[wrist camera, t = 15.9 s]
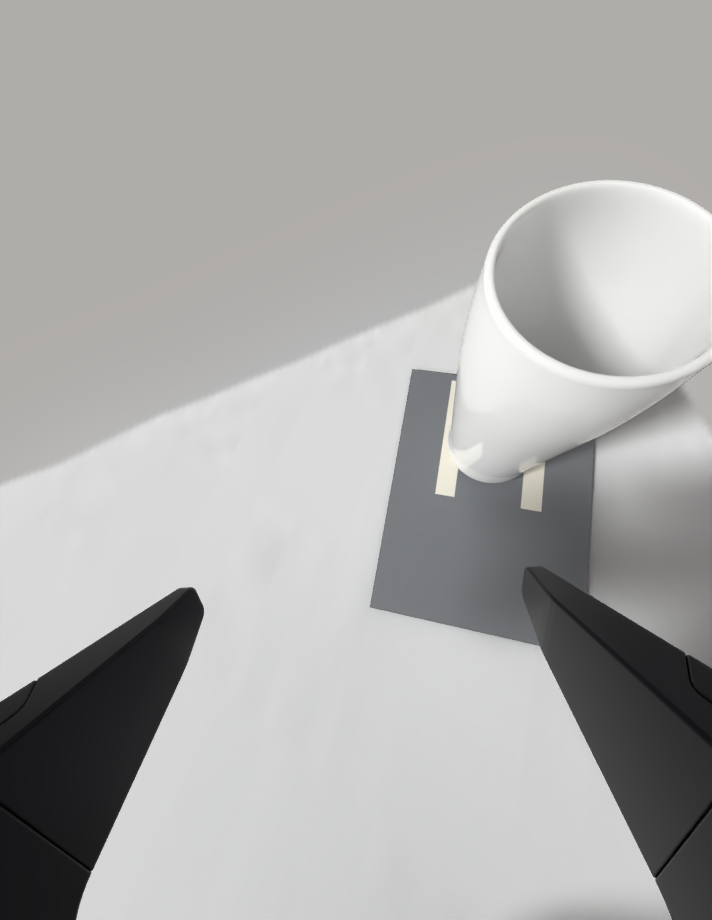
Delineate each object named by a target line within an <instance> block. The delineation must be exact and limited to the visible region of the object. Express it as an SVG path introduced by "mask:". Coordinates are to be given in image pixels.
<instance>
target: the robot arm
mask: <svg viewBox="0 0 712 920" xmlns="http://www.w3.org/2000/svg"><path fill="white" fill-rule="evenodd" d="M522 596H523V600H524V603H525V605H526V608H527V611H528V614H529V617H530V619H531V622H532V625H533V628H534V631H535V633H536V636H537V639H538V642H539V644H540V647H541V650H542V652H543V654H544V656H545V658H546V660H547V662H548V664H549V667H550V669H551V671H552V673H553V675H554V677H555V679H556V681H557V683H558V685H559V687H560V689H561V691H562V693H563V695H564V697H565V699H566V701H567V703H568V705H569V707H570V709H571V711H572V713H573V715H574V717H575V719H576V721H577V723H578V725H579V727H580V729H581V731H582V733H583V735H584V737H585V739H586V741H587V743H588V745H589V747H590V749H591V752H592V754H593V756H594V758H595V760H596V762H597V764H598V766H599V768H600V770H601V772H602V774H603V776H604V778H605V780H606V782H607V784H608V786H609V788H610V790H611V792H612V794H613V796H614V798H615V800H616V802H617V804H618V806H619V808H620V810H621V812H622V814H623V816H624V818H625V820H626V822H627V824H628V826H629V828H630V830H631V832H632V834H633V837H634V839H635V841H636V843H637V845H638V847H639V849H640V851H641V853H642V855H643V857H644V859H645V861H646V863H647V865H648V867H649V869H650V871H651V873H652V875H653V877H655V878H656V879H655V881H656V883H657V885H658V887H659V889H660V892H661V894H662V896H663V898H664V901H665V903H666V905H667V908H668V910H669V913H670V915H671V918H672V920H712V668H710V667H708V666H707V665H705V664H703V663H702V662H700V661H698V660H697V659H695V658H694V657H692V656H690V655H687V656H686V654H685V653H684V652H683V651H681V650H679V649H678V648H676V647H674V646H673V645H671V644H669V643H668V642H666V641H664V640H663V639H661V638H660V637H658V636H656V635H655V634H653V633H651V632H650V631H648V630H646V629H645V628H643V627H641V626H640V625H638V624H636V623H635V622H633V621H632V620H630V619H628V618H627V617H625V616H623V615H622V614H620V613H618V612H617V611H615V610H613V609H612V608H610V607H609V606H607V605H605V604H604V603H602V602H600V601H599V600H597V599H595V598H594V597H592V596H590V595H589V594H587V593H585V592H584V591H582V590H581V589H579V588H577V587H576V586H574V585H572V584H571V583H569V582H567V581H566V580H564V579H562V578H561V577H559V576H558V575H556V574H554V573H553V572H551V571H549V570H548V569H546V568H544V567H542V566H527V567H526V568H525V569H524V574H523V583H522ZM203 616H204V607H203V605H202V603H201V600H200V598H199V596H198V594H197V592H196V590H195V589H194V588H192V587H188V588H179V589H177V590H175V591H174V592H172V593H171V594H169V595H168V596H166V597H165V598H163V599H161V600H160V601H158V602H157V603H155V604H154V605H152V606H151V607H149V608H147V609H146V610H144V611H143V612H141V613H140V614H138V615H136V616H135V617H133V618H132V619H130V620H129V621H127V622H126V623H124V624H122V625H121V626H119V627H118V628H116V629H115V630H113V631H112V632H110V633H108V634H107V635H105V636H104V637H102V638H101V639H99V640H97V641H96V642H94V643H93V644H91V645H90V646H88V647H87V648H85V649H83V650H82V651H80V652H79V653H77V654H76V655H74V656H73V657H71V658H69V659H68V660H66V661H65V662H63V663H62V664H60V665H58V666H57V667H55V668H54V669H52V670H51V671H49V672H48V673H46V674H44V675H43V676H41V677H40V678H38V680H37V681H33V682H31V683H29V684H28V685H26V686H25V687H23V688H22V689H20V690H19V691H17V692H15V693H14V694H12V695H11V696H9V697H7V698H6V699H4V700H3V701H1V702H0V920H76V918H77V913H78V909H79V905H80V901H81V898H82V895H83V892H84V890H85V887H86V884H87V882H88V880H89V877H90V875H91V871H92V870H93V868H94V866H95V864H96V862H97V860H98V858H99V855H100V853H101V851H102V849H103V847H104V844H105V842H106V840H107V838H108V836H109V834H110V831H111V829H112V827H113V825H114V823H115V821H116V818H117V816H118V814H119V812H120V810H121V807H122V805H123V803H124V801H125V799H126V797H127V794H128V792H129V790H130V788H131V786H132V783H133V781H134V779H135V777H136V775H137V773H138V770H139V768H140V766H141V764H142V762H143V759H144V757H145V755H146V753H147V751H148V749H149V746H150V744H151V742H152V740H153V738H154V735H155V733H156V731H157V729H158V727H159V725H160V722H161V720H162V718H163V716H164V714H165V711H166V709H167V707H168V705H169V703H170V701H171V698H172V696H173V694H174V692H175V690H176V687H177V685H178V683H179V681H180V679H181V677H182V674H183V672H184V670H185V667H186V665H187V663H188V660H189V657H190V654H191V651H192V648H193V646H194V643H195V640H196V637H197V634H198V631H199V628H200V625H201V622H202V619H203Z"/></svg>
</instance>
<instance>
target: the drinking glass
mask: <svg viewBox="0 0 712 920" xmlns="http://www.w3.org/2000/svg"><path fill="white" fill-rule="evenodd" d="M711 363H712V214H711V213H710V212H709V211H707V210H706V209H705V208H703V207H702V206H700V205H699V204H697V203H695V202H693V201H692V200H690V199H688V198H686V197H684V196H682V195H680V194H678V193H675V192H673V191H670V190H667V189H664V188H661V187H658V186H655V185H650V184H646V183H641V182H635V181H626V180H593V181H586V182H580V183H575V184H570V185H567V186H563V187H560V188H557V189H555V190H552V191H549V192H547V193H545V194H543V195H540V196H539V197H537V198H535V199H533V200H531V201H530V202H529V203H527V204H525V205H524V206H523V207H521V208H520V209H519V210H518V211H516V212H515V213H514V214H513V215H512V216H511V217H510V218H509V219H508V220H507V221H506V222H505V224H504V225H503V226H502V227H501V228H500V230H499V231H498V233H497V235H496V236H495V238H494V239H493V241H492V243H491V245H490V247H489V250H488V253H487V256H486V259H485V263H484V265H483V268H482V271H481V274H480V277H479V280H478V282H477V285H476V288H475V291H474V294H473V298H472V301H471V304H470V308H469V311H468V315H467V319H466V323H465V327H464V332H463V336H462V341H461V347H460V353H459V361H458V369H457V378H456V388H455V396H454V405H453V413H452V420H451V425H450V428H449V431H448V437H447V444H448V450H449V454H450V456H451V458H452V460H453V462H454V463H455V465H456V466H457V467H458V468H459V469H460V470H461V471H462V472H463V473H464V474H465V475H467V476H468V477H470V478H472V479H475V480H477V481H480V482H484V483H502V482H506V481H509V480H512V479H514V478H516V477H518V476H519V475H521V474H522V473H523V472H525V471H526V470H528V469H530V468H532V467H534V466H536V465H538V464H541V463H543V462H545V461H547V460H549V459H551V458H553V457H556V456H558V455H560V454H562V453H564V452H567V451H569V450H571V449H573V448H575V447H577V446H580V445H582V444H584V443H586V442H588V441H590V440H592V439H595V438H597V437H599V436H601V435H603V434H605V433H607V432H609V431H611V430H612V429H614V428H616V427H618V426H620V425H621V424H623V423H625V422H626V421H628V420H630V419H631V418H633V417H635V416H636V415H638V414H640V413H641V412H643V411H644V410H646V409H648V408H649V407H651V406H652V405H654V404H655V403H657V402H658V401H660V400H661V399H663V398H664V397H665V396H667V395H668V394H670V393H671V392H672V391H674V390H675V389H677V388H678V387H679V386H681V385H682V384H683V383H685V382H686V381H687V380H689V379H690V378H691V377H693V376H694V375H695V374H697V373H698V372H699V371H701V370H702V369H704V368H705V367H707V366H708V365H710V364H711Z"/></svg>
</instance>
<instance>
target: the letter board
mask: <svg viewBox="0 0 712 920" xmlns="http://www.w3.org/2000/svg"><path fill="white" fill-rule="evenodd" d="M456 378H457V374H448V373H440V372H432V371H423V370H415V369H412V374H411V380H410V385H409V391H408V396H407V402H406V408H405V413H404V419H403V424H402V430H401V436H400V441H399V447H398V453H397V458H396V464H395V469H394V475H393V481H392V486H391V492H390V497H389V503H388V509H387V514H386V520H385V525H384V531H383V537H382V542H381V548H380V553H379V559H378V565H377V570H376V576H375V582H374V587H373V593H372V598H371V604H370V607H371V608H375V609H380V610H384V611H389V612H393V613H398V614H402V615H406V616H411V617H415V618H420V619H424V620H428V621H433V622H437V623H442V624H446V625H450V626H455V627H459V628H464V629H468V630H472V631H477V632H481V633H486V634H490V635H494V636H499V637H503V638H508V639H512V640H516V641H521V642H525V643H530V644H534V645H539V646H540V644H539V642H538V639H537V636H536V633H535V631H534V628H533V625H532V622H531V619H530V617H529V614H528V611H527V608H526V605H525V603H524V600H523V596H522V583H523V574H524V569H525V568H526V567H527V566H542V567H544V568H546V569H548V570H549V571H551V572H553V573H554V574H556V575H558V576H559V577H561V578H562V579H564V580H566V581H567V582H569V583H571V584H572V585H574V586H576V587H577V588H579V589H581V590H582V591H584V592H585V593H587V592H588V569H589V546H590V524H591V501H592V479H593V456H594V439H592V440H590V441H588V442H586V443H584V444H582V445H580V446H577V447H575V448H573V449H571V450H569V451H567V452H564V453H562V454H560V455H558V456H556V457H553V458H551V459H549V460H547V461H545V462H543V463H541V464H538V465H536V466H534V467H532V468H530V469H528V470H526V471H525V472H523V473H522V474H521V475H519V476H518V477H516V478H514V479H512V480H509V481H506V482H502V483H484V482H480V481H477V480H475V479H472V478H470V477H468V476H467V475H465V474H464V473H463V472H462V471H461V470H460V469H459V468H458V467H457V466H456V465H455V463H454V462H453V460H452V458H451V456H450V454H449V450H448V444H447V437H448V431H449V428H450V425H451V420H452V413H453V405H454V396H455V388H456Z"/></svg>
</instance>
